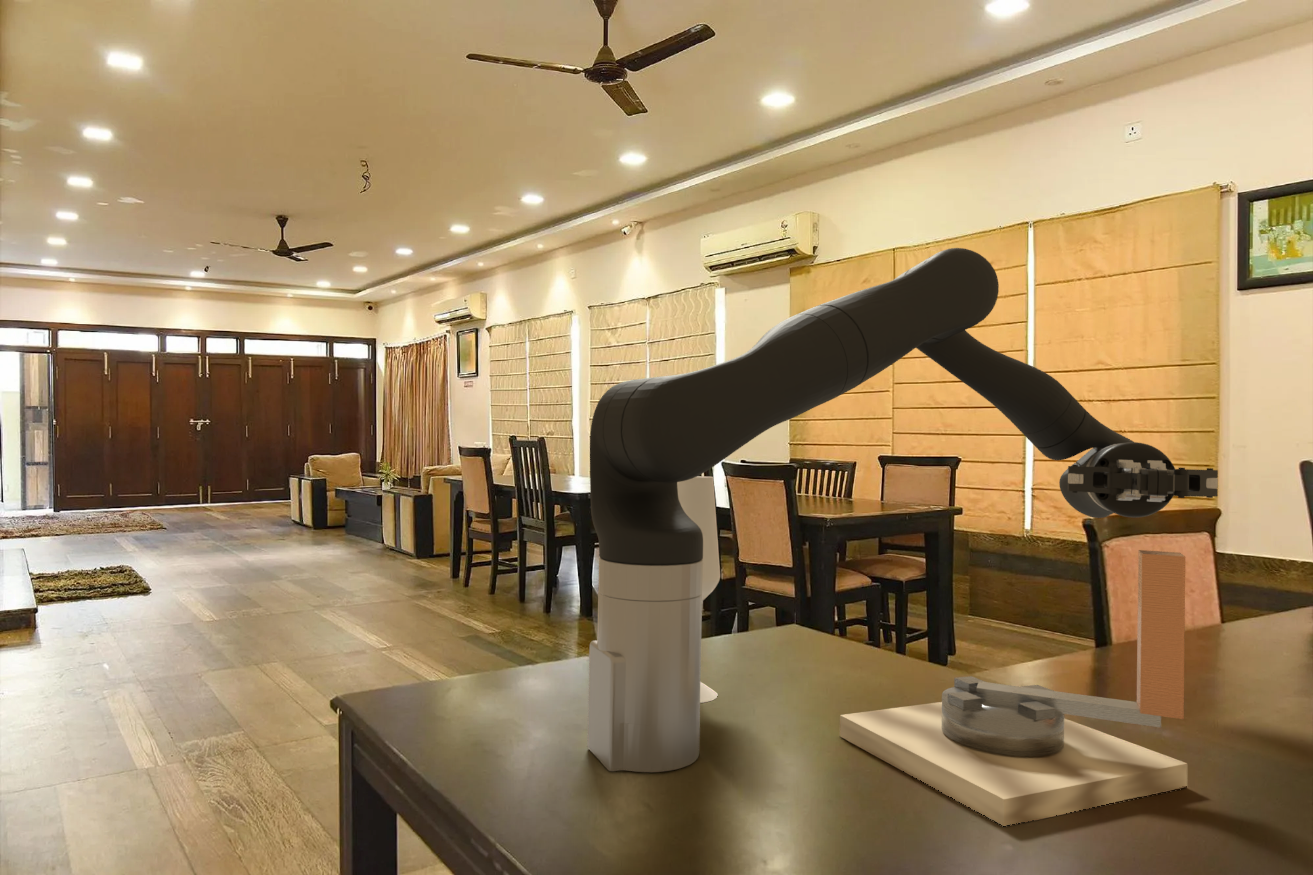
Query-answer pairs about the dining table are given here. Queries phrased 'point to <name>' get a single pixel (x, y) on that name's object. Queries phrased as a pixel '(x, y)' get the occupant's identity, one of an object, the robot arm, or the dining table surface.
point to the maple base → (1013, 766)
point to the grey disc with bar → (1037, 713)
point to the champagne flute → (701, 510)
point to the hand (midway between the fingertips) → (1158, 482)
